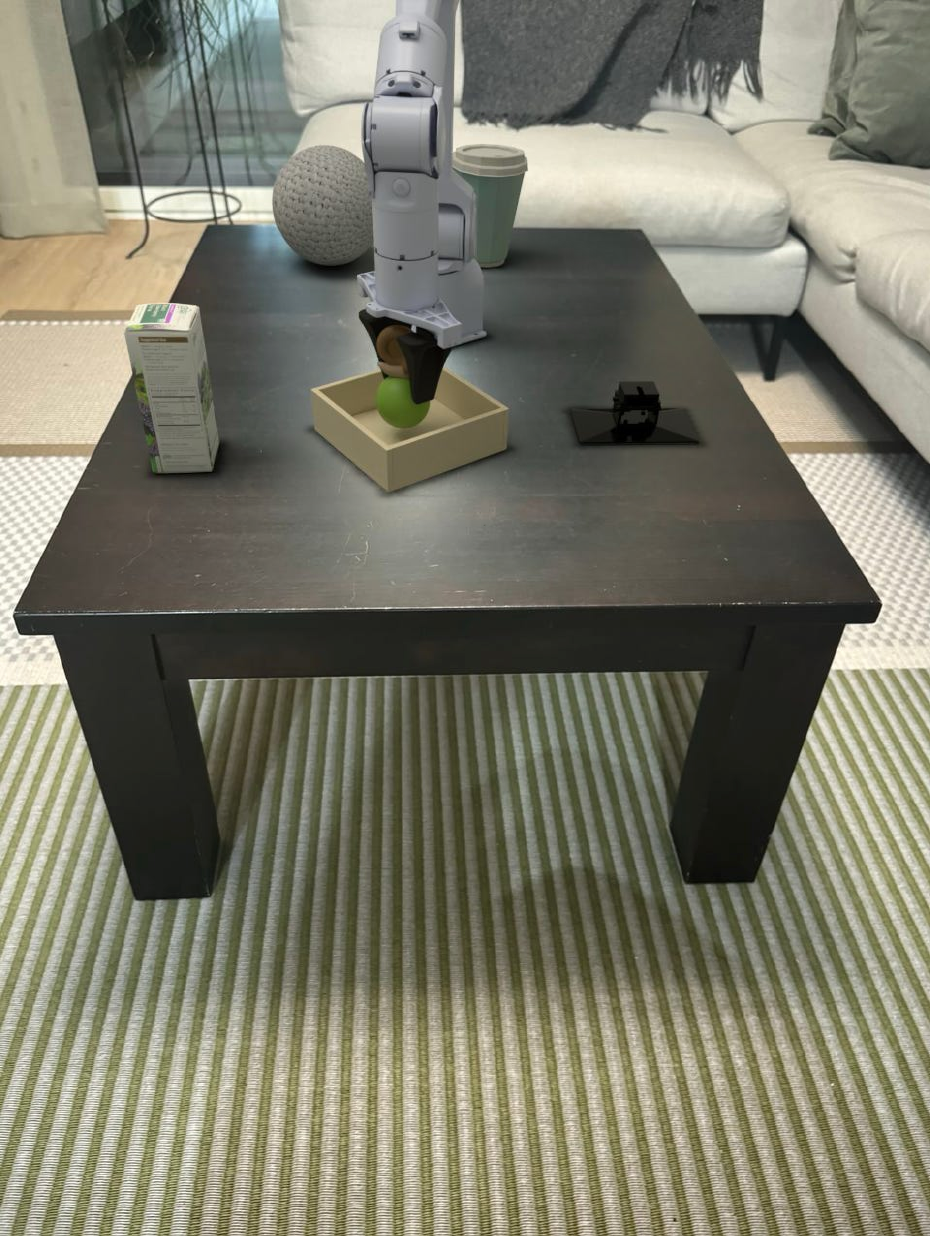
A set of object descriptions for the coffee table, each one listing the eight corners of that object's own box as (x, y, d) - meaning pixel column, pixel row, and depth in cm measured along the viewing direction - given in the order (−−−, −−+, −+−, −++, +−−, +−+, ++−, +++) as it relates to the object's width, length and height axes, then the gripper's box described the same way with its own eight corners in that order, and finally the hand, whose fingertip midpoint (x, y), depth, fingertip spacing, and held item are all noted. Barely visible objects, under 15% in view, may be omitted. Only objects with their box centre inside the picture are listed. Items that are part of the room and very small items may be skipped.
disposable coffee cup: (440, 249, 135) (441, 137, 125) (510, 245, 137) (517, 135, 127) (457, 276, 127) (460, 159, 117) (531, 271, 129) (540, 156, 119)
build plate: (579, 446, 94) (584, 405, 91) (569, 411, 99) (573, 371, 96) (698, 444, 94) (707, 403, 91) (682, 409, 100) (689, 370, 97)
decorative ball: (406, 260, 131) (404, 146, 121) (333, 291, 122) (324, 170, 112) (331, 236, 138) (323, 126, 128) (256, 263, 129) (241, 147, 119)
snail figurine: (433, 442, 90) (433, 325, 82) (370, 435, 91) (364, 318, 83) (445, 416, 94) (446, 302, 86) (384, 408, 95) (380, 295, 87)
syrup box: (162, 443, 92) (131, 302, 82) (222, 442, 92) (198, 301, 83) (153, 474, 87) (119, 329, 78) (215, 473, 88) (189, 328, 78)
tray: (427, 393, 101) (427, 354, 98) (506, 449, 93) (509, 408, 89) (314, 429, 94) (310, 388, 91) (388, 493, 86) (386, 450, 83)
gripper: (325, 233, 83) (335, 371, 92) (414, 285, 75) (415, 432, 84) (390, 220, 87) (394, 354, 96) (482, 268, 78) (477, 411, 87)
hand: (408, 389), depth 90 cm, fingers closed on snail figurine, 4 cm apart
